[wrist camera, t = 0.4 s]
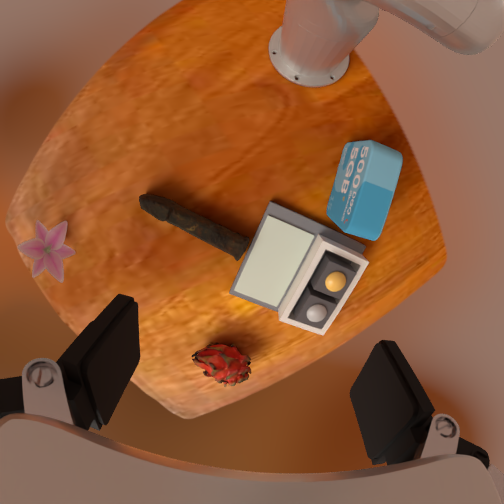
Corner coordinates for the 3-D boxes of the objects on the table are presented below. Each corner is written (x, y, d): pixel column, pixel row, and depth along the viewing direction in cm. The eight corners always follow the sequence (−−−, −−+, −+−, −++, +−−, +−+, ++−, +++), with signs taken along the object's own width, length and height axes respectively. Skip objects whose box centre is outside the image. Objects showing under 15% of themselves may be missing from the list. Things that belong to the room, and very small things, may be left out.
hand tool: (252, 235, 44) (251, 245, 39) (239, 255, 45) (237, 266, 41) (152, 179, 41) (140, 182, 37) (142, 200, 42) (130, 205, 38)
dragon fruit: (255, 357, 54) (202, 337, 55) (262, 349, 47) (201, 326, 48) (242, 394, 50) (187, 373, 50) (247, 391, 43) (183, 366, 43)
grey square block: (307, 285, 43) (310, 295, 40) (333, 295, 43) (337, 306, 40) (293, 309, 45) (295, 321, 41) (318, 318, 45) (322, 330, 42)
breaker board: (270, 200, 41) (271, 206, 37) (364, 244, 43) (373, 254, 39) (229, 290, 47) (226, 303, 43) (317, 323, 49) (321, 337, 45)
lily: (76, 277, 49) (67, 288, 40) (31, 270, 44) (16, 279, 35) (82, 222, 49) (72, 222, 40) (36, 216, 44) (20, 215, 35)
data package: (344, 142, 38) (374, 138, 26) (369, 151, 38) (406, 152, 27) (324, 213, 42) (346, 235, 31) (349, 221, 42) (377, 244, 31)
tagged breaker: (325, 253, 41) (329, 261, 38) (351, 265, 41) (357, 273, 38) (310, 280, 43) (313, 290, 39) (336, 290, 43) (341, 300, 40)
